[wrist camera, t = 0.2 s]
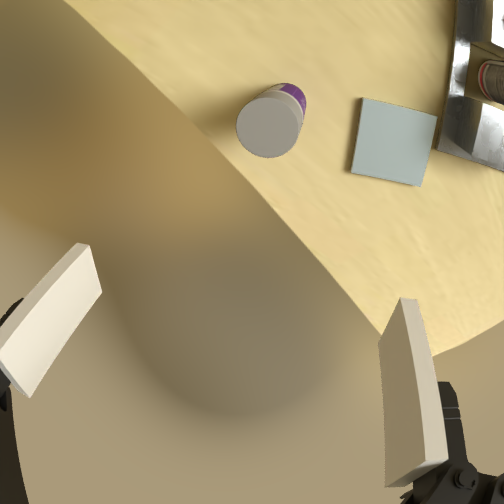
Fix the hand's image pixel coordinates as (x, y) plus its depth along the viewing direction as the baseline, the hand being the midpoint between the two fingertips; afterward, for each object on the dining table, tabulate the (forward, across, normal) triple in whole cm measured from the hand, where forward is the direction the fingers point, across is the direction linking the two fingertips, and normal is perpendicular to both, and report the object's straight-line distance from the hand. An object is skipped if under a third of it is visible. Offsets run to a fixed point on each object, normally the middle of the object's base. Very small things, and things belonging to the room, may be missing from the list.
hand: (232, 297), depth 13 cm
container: (+28, -1, +4) cm, 28 cm away
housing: (+28, +24, +13) cm, 39 cm away
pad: (+28, +12, +1) cm, 30 cm away
